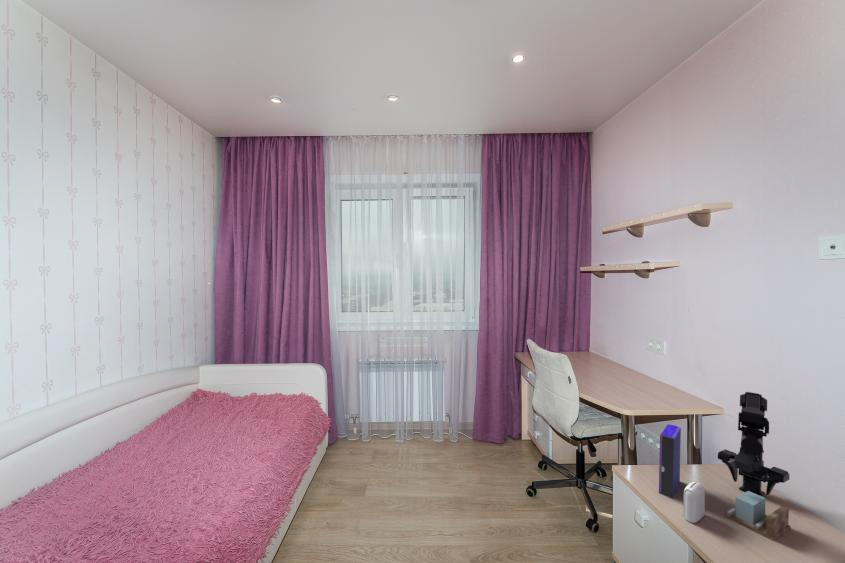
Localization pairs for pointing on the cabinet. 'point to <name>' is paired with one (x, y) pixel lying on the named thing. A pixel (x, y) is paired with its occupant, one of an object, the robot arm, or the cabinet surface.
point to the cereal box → (669, 460)
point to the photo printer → (694, 502)
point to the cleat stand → (765, 522)
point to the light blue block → (750, 507)
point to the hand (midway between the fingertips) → (751, 488)
